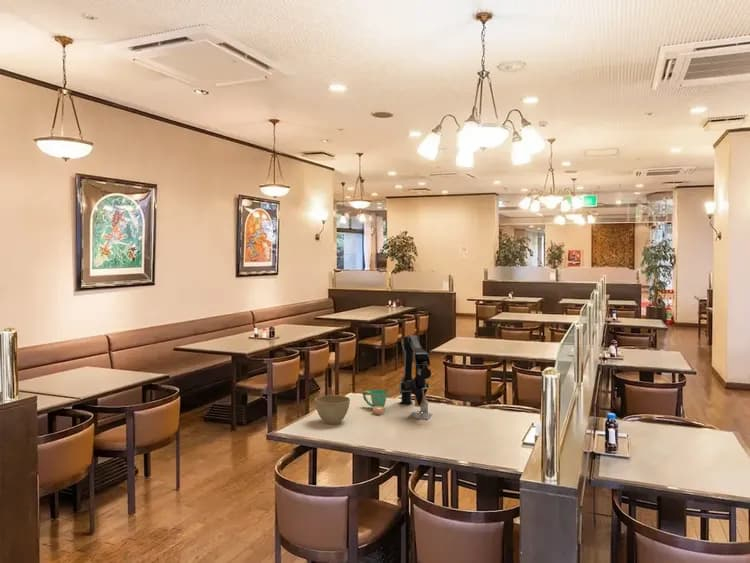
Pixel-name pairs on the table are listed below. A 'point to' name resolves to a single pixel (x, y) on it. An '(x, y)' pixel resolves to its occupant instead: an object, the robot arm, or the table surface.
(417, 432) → the table surface
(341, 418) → the flower pot
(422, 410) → the light wood block
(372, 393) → the mug
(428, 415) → the slate coaster
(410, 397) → the robot arm
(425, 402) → the walnut block
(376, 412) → the peach egg shape
